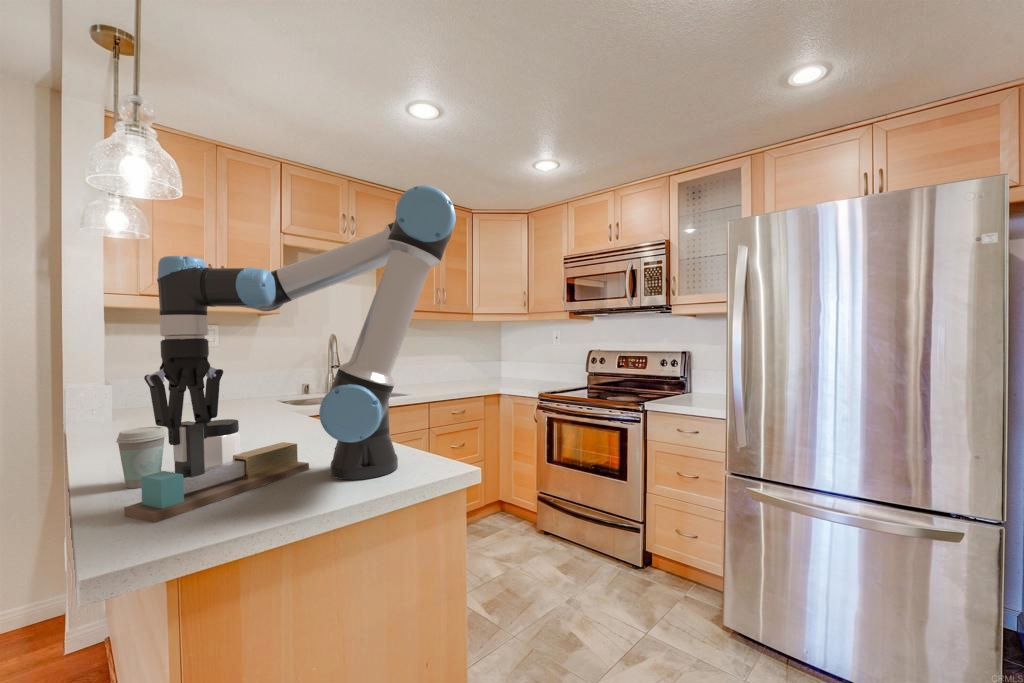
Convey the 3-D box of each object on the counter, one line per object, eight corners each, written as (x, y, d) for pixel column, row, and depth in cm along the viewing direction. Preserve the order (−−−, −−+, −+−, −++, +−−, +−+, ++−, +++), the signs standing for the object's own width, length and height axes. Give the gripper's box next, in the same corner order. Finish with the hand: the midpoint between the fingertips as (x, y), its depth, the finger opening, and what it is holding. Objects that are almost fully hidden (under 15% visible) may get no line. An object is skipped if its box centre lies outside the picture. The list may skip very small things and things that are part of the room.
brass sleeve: (283, 461, 110) (282, 442, 110) (297, 463, 108) (297, 443, 108) (233, 477, 98) (232, 455, 98) (248, 479, 96) (247, 457, 96)
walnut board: (282, 465, 112) (282, 459, 112) (309, 469, 108) (308, 462, 108) (124, 515, 82) (124, 507, 82) (154, 522, 78) (154, 514, 78)
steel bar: (248, 468, 102) (246, 410, 101) (264, 470, 100) (262, 411, 99) (147, 498, 83) (145, 428, 83) (163, 502, 81) (161, 430, 81)
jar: (225, 466, 113) (223, 418, 112) (249, 468, 110) (247, 419, 110) (188, 476, 104) (187, 425, 104) (213, 480, 101) (212, 426, 101)
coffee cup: (126, 493, 94) (124, 435, 94) (111, 486, 98) (109, 431, 98) (174, 481, 101) (173, 428, 101) (158, 475, 106) (156, 424, 105)
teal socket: (164, 497, 86) (163, 470, 86) (183, 501, 84) (183, 474, 84) (142, 504, 83) (141, 476, 83) (161, 508, 81) (160, 480, 80)
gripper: (212, 337, 96) (216, 447, 96) (125, 339, 82) (131, 468, 82) (236, 336, 93) (240, 450, 93) (150, 338, 79) (155, 472, 79)
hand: (189, 458), depth 88 cm, fingers closed on steel bar, 3 cm apart
